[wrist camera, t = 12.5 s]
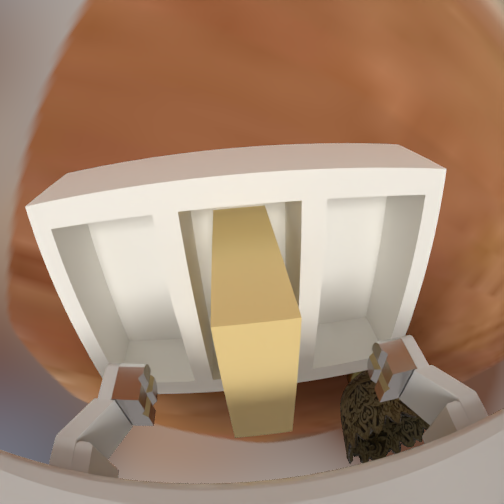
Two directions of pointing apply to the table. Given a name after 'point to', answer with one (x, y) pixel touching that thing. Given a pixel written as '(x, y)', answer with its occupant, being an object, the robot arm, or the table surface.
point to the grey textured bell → (375, 421)
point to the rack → (200, 251)
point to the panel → (253, 322)
